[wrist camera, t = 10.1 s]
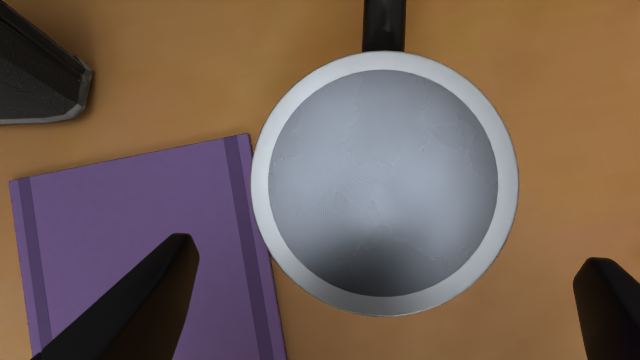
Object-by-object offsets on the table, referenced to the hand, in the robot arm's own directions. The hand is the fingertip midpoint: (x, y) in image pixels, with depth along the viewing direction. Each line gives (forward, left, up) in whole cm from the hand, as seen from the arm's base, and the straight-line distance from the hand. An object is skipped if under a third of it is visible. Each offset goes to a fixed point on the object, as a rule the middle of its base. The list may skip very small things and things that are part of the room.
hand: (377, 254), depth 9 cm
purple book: (+3, +12, -9) cm, 15 cm away
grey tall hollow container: (+4, -4, -9) cm, 11 cm away
